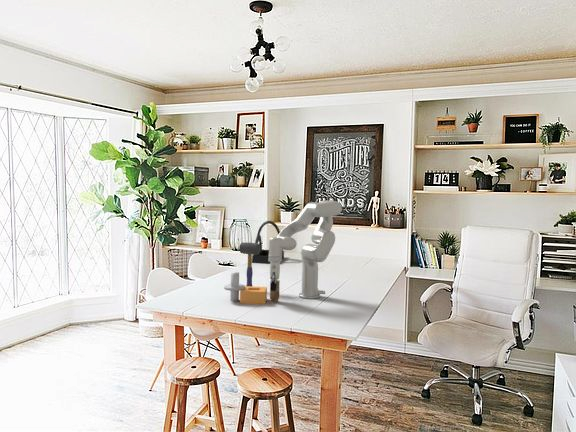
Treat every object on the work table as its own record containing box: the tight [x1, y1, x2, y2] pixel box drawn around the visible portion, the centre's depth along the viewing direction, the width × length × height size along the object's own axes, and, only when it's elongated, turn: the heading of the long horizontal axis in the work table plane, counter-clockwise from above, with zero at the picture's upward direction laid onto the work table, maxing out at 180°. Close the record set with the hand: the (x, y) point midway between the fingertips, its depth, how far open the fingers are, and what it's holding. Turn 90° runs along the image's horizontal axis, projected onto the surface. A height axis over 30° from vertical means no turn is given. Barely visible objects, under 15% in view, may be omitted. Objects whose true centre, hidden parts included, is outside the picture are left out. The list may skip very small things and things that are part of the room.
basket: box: [252, 220, 285, 265], centre depth 401 cm, size 35×21×35 cm, turn 168°
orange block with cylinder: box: [223, 271, 268, 305], centre depth 265 cm, size 24×12×16 cm, turn 88°
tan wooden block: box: [269, 279, 281, 304], centre depth 264 cm, size 5×4×12 cm
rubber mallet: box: [238, 242, 261, 287], centre depth 291 cm, size 12×8×30 cm, turn 68°
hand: (273, 288), depth 264 cm, fingers open, 9 cm apart
